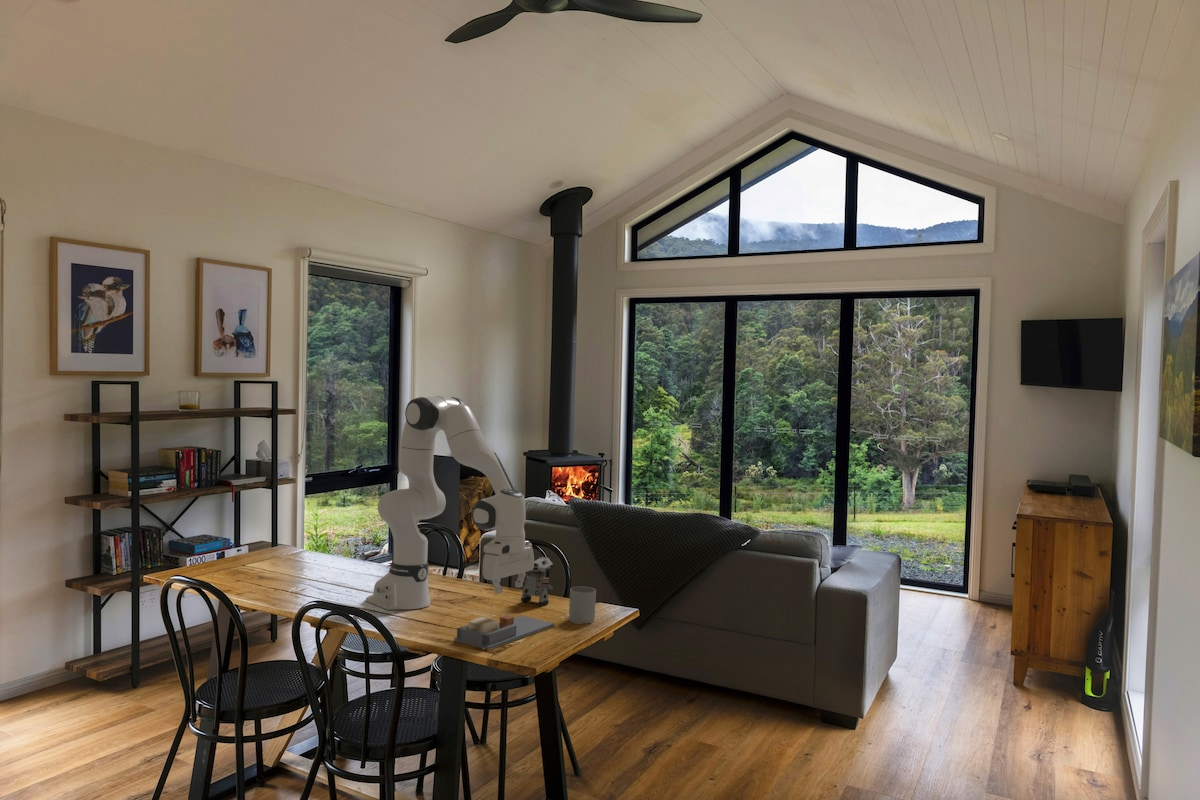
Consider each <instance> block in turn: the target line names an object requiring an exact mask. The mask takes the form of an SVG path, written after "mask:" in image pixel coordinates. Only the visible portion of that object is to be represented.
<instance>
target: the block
mask: <svg viewBox="0 0 1200 800" xmlns="http://www.w3.org/2000/svg"><path fill="white" fill-rule="evenodd" d="M488 618H489V617H484V616H482V617H479V618H475V619H471V620H469V621H468V625H469V628H468V629H471V630H474V631H478V632H482V633H489V632H492V631H494V630H497V629H498V623H499V629H500V628H503V627H506V626H509V625H512V624H513V625H514V618H515V617H514V616H512V615H509V614H505V615H502V616H499V620H497V619H493V618H489V619H488Z"/></svg>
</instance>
